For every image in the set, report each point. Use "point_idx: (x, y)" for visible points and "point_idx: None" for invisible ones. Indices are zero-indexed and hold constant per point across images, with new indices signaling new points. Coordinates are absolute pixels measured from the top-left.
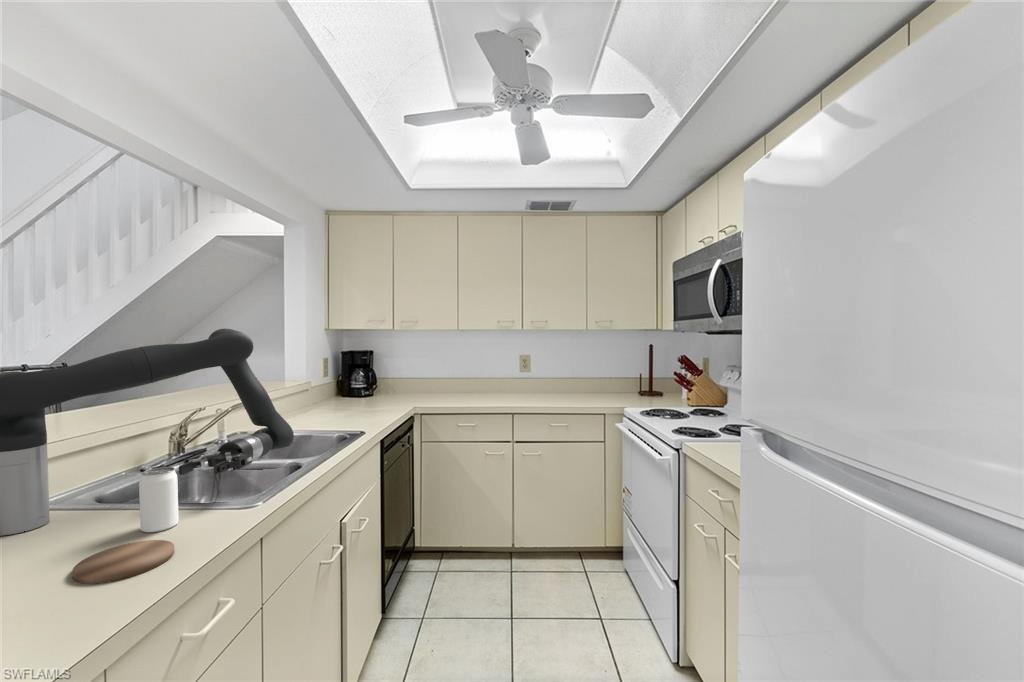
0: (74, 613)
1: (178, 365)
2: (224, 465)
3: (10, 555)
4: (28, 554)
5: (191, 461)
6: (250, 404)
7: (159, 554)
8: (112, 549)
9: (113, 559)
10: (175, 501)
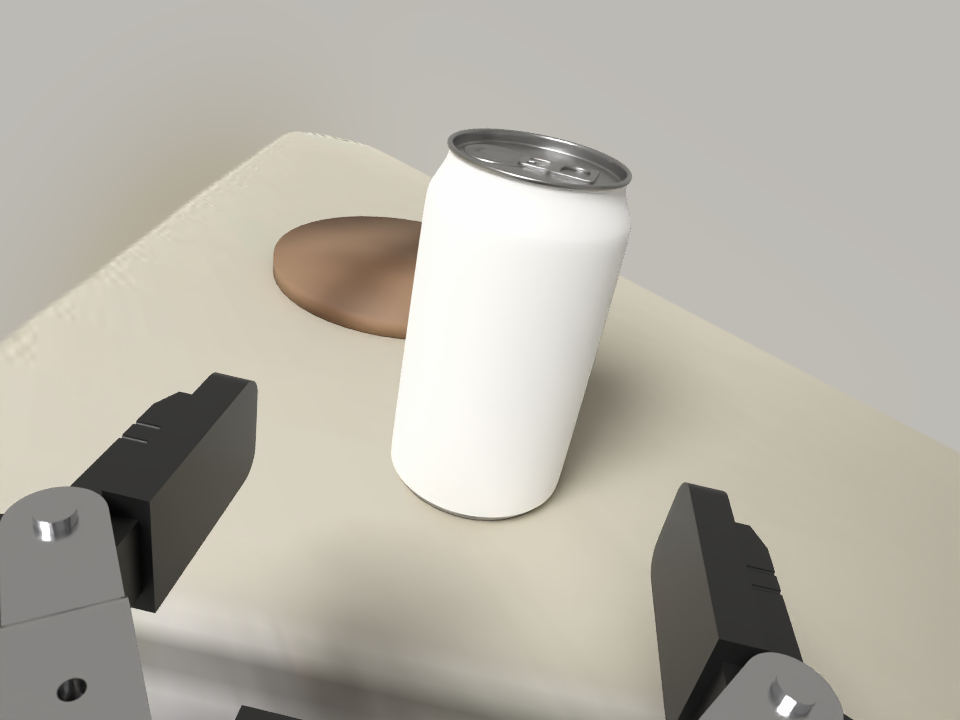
0: (373, 187)
1: None
2: (131, 431)
3: (843, 394)
4: (789, 386)
5: (758, 661)
6: None
7: (305, 250)
8: None
9: None
10: (406, 334)
